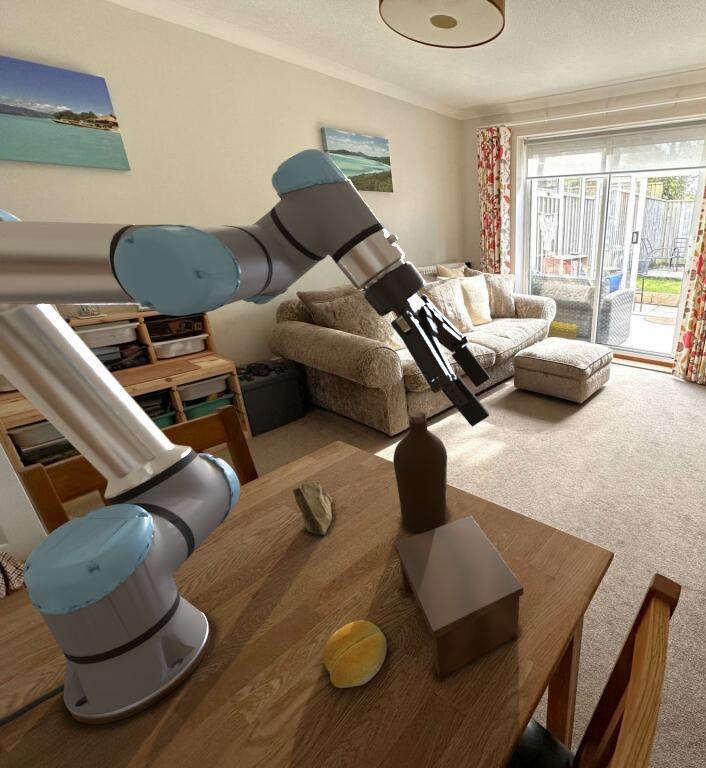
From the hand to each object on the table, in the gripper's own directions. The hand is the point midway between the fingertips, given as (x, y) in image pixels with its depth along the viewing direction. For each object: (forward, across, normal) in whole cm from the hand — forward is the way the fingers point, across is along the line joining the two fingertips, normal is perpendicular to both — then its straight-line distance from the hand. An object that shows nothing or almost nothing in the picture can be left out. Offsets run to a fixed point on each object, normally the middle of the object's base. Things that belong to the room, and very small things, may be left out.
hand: (482, 399), depth 59 cm
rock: (+9, +18, +49) cm, 53 cm away
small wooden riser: (+27, -5, +24) cm, 36 cm away
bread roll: (+18, -13, +36) cm, 42 cm away
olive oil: (+22, +17, +32) cm, 42 cm away
